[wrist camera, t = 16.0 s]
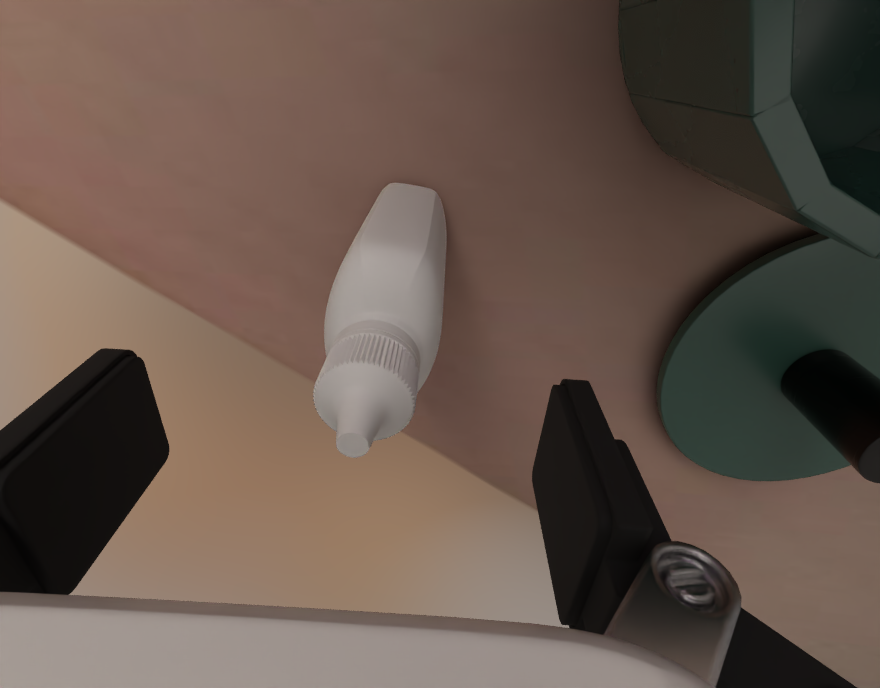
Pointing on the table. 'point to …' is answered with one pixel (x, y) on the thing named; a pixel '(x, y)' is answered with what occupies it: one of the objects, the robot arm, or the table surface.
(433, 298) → the eye dropper bottle
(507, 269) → the table surface
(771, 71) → the pot
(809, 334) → the lid
